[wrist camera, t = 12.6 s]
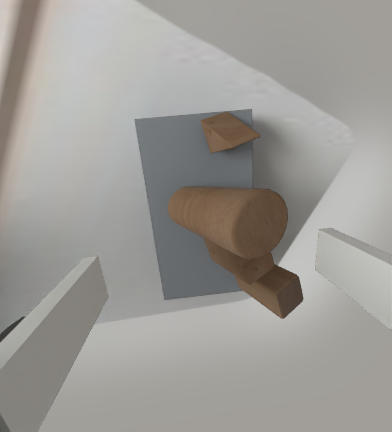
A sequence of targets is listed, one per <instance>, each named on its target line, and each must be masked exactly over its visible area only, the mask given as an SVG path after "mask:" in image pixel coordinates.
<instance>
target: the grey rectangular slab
mask: <svg viewBox="0 0 392 432" xmlns="http://www.w3.org/2000/svg"><path fill="white" fill-rule="evenodd" d="M224 112H229V113H230V114H231V115H233V116H234V117H236V118H237V119H238V120H240V121H241V122H243V123H244V124H245V125H247V126H248V127H250V128H251V129H252V109H247V110H236V111H224ZM224 112H213V113H201V114H190V115H179V116H167V117H156V118H144V119H135V125H136V131H137V137H138V143H139V149H140V155H141V161H142V167H143V173H144V179H145V185H146V191H147V197H148V203H149V209H150V215H151V221H152V228H153V234H154V240H155V246H156V252H157V258H158V264H159V270H160V276H161V282H162V288H163V294H164V300H170V299H178V298H186V297H194V296H202V295H211V294H219V293H227V292H235V291H243V290H242V289H241V288H240V287H239V286H238V283H237V280H236V277H235V275H233V274H232V273H231V272H229V271H228V270H226V269H225V268H223V267H222V266H220V265H219V264H217V263H216V262H214V261H213V260H212V259H211V257H210V254H209V252H208V249H207V246H206V244H205V241H204V238H203V237H201V236H199V235H197V234H195V233H194V232H192V231H190V230H188V229H186V228H184V227H182V226H180V225H178V224H176V223H175V222H174V221H172V219H171V218H170V216H169V214H168V210H167V209H168V202H169V200H170V198H171V196H172V195H173V194H174V193H175V192H176V191H177V190H179V189H180V188H183V187H186V186H195V187H222V188H248V189H253V160H252V140H251V141H249V142H246V143H244V144H242V145H239V146H237V147H235V148H231V149H228V150H224V151H220V152H216V153H210V150H209V146H208V143H207V140H206V137H205V134H204V131H203V127H202V124H201V120H202V119H206V118H209V117H212V116H215V115H218V114H221V113H224Z"/></svg>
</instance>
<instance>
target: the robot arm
mask: <svg viewBox="0 0 392 432" xmlns="http://www.w3.org/2000/svg"><path fill="white" fill-rule="evenodd" d="M315 270H317V271H318V272H319V273H320V274H322V275H323V276H324V277H325V278H327V279H328V280H329V281H330V282H332V283H333V284H334V285H335V286H337V287H338V288H339V289H340V290H342V291H343V292H344V293H345V294H347V295H348V296H349V297H350V298H352V299H353V300H354V301H355V302H357V303H358V304H359V305H360V306H362V307H363V308H364V309H365V310H366V311H368V312H369V313H370V314H371V315H373V316H374V317H375V318H376V319H378V320H379V321H380V322H382V323H383V324H384V325H386V327H388V328H389V329H390V330H391V331H392V255H391V254H388V253H386V252H384V251H382V250H379V249H377V248H375V247H373V246H370V245H368V244H366V243H364V242H361V241H359V240H357V239H355V238H352V237H350V236H348V235H346V234H343V233H341V232H339V231H337V230H334V229H332V228H327V229H319V234H318V244H317V255H316V266H315ZM107 298H108V293H107V289H106V285H105V281H104V277H103V274H102V270H101V266H100V262H99V258H98V256H93V257H85V258H83V259H82V260H81V261H80V262H79V263H78V264H77V265H76V266H75V267H74V268H73V269H72V270H71V271H70V272H69V273H68V274H67V275H66V276H65V277H64V278H63V279H62V280H61V281H60V282H59V284H58V285H57V286H56V287H55V288H54V289H53V290H52V291H51V292H50V293H49V294H48V295H47V296H46V297H45V298H44V299H43V300H42V301H41V302H40V303H39V304H38V305H37V306H36V307H35V308H34V309H33V310H32V311H31V312H30V313H29V314H28V315H27V316H25V317H22V318H21V319H19V320H18V321H16V322H15V323H14V324H12V325H11V326H9V327H8V328H7V329H5V330H4V331H3V332H2V333H1V334H0V432H38V430H39V428H40V426H41V424H42V423H43V421H44V419H45V417H46V415H47V413H48V411H49V409H50V407H51V405H52V404H53V402H54V400H55V398H56V396H57V394H58V392H59V390H60V388H61V386H62V384H63V382H64V381H65V379H66V377H67V375H68V373H69V371H70V369H71V367H72V365H73V363H74V361H75V360H76V358H77V356H78V354H79V352H80V350H81V348H82V346H83V344H84V342H85V340H86V338H87V336H88V335H89V333H90V331H91V329H92V327H93V325H94V323H95V321H96V319H97V317H98V316H99V314H100V312H101V310H102V308H103V306H104V304H105V302H106V300H107Z"/></svg>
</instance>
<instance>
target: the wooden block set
mask: <svg viewBox="0 0 392 432" xmlns="http://www.w3.org/2000/svg"><path fill="white" fill-rule="evenodd" d="M201 124H202V127H203V131H204V134H205V137H206V140H207V143H208V146H209V150H210V153H216V152H220V151H224V150H228V149H231V148H235V147H237V146H239V145H242V144H244V143H246V142H249V141H251V140H254V139H256V138H258V137H260V135H259V134H258V133H256V132H255V131H254V130H252V129H251V128H250V127H248V126H247V125H245V124H244V123H243V122H241V121H240V120H238V119H237V118H236V117H234V116H233V115H231V114H230V113H229V112H224V113H221V114H218V115H215V116H212V117H209V118H206V119H202V120H201ZM167 210H168V214H169V216H170V218H171V219H172V221H174V222H175V223H176V224H178V225H180V226H182V227H184V228H186V229H188V230H190V231H192V232H194V233H195V234H197V235H199V236H201V237H203V238H204V241H205V244H206V246H207V249H208V252H209V254H210V257H211V259H212V260H213V261H214V262H216V263H217V264H219V265H220V266H222V267H223V268H225V269H226V270H228V271H229V272H231V273H232V274H233V275H235V277H236V280H237V283H238V286H239V287H240V288H241V289H242V290H243V291H245V292H246V293H248V294H249V295H250V296H252V297H253V298H254V299H256V300H257V301H258V302H260V303H261V304H262V305H264V306H265V307H266V308H268V309H269V310H270V311H272V312H273V313H275V314H276V315H277V316H279V317H280V318H282V319H283V318H285V317H286V316H287V315H288V314H289V313H290V312H291V311H293V310H294V309H295V308H296V307H297V306H298V305H299V304H300V303H301V302H302V301H303V294H302V289H301V284H300V280H299V277H298V276H297V275H296V274H294V273H292V272H290V271H287V270H285V269H283V268H281V267H279V266H277V265H275V264H274V262H273V258H272V254H271V253H270V252H271V251H272V250H273V249H274V248H275V247H276V246H277V244H278V243H279V242H280V240H281V239H282V237H283V234H284V232H285V230H286V226H287V220H288V213H287V207H286V204H285V201H284V200H283V199H282V197H281V196H280V195H279V194H277V193H276V192H274V191H272V190H269V189H248V188H222V187H195V186H186V187H183V188H180V189H179V190H177V191H176V192H175V193H174V194H173V195H172V196H171V198H170V200H169V202H168V209H167Z"/></svg>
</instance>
